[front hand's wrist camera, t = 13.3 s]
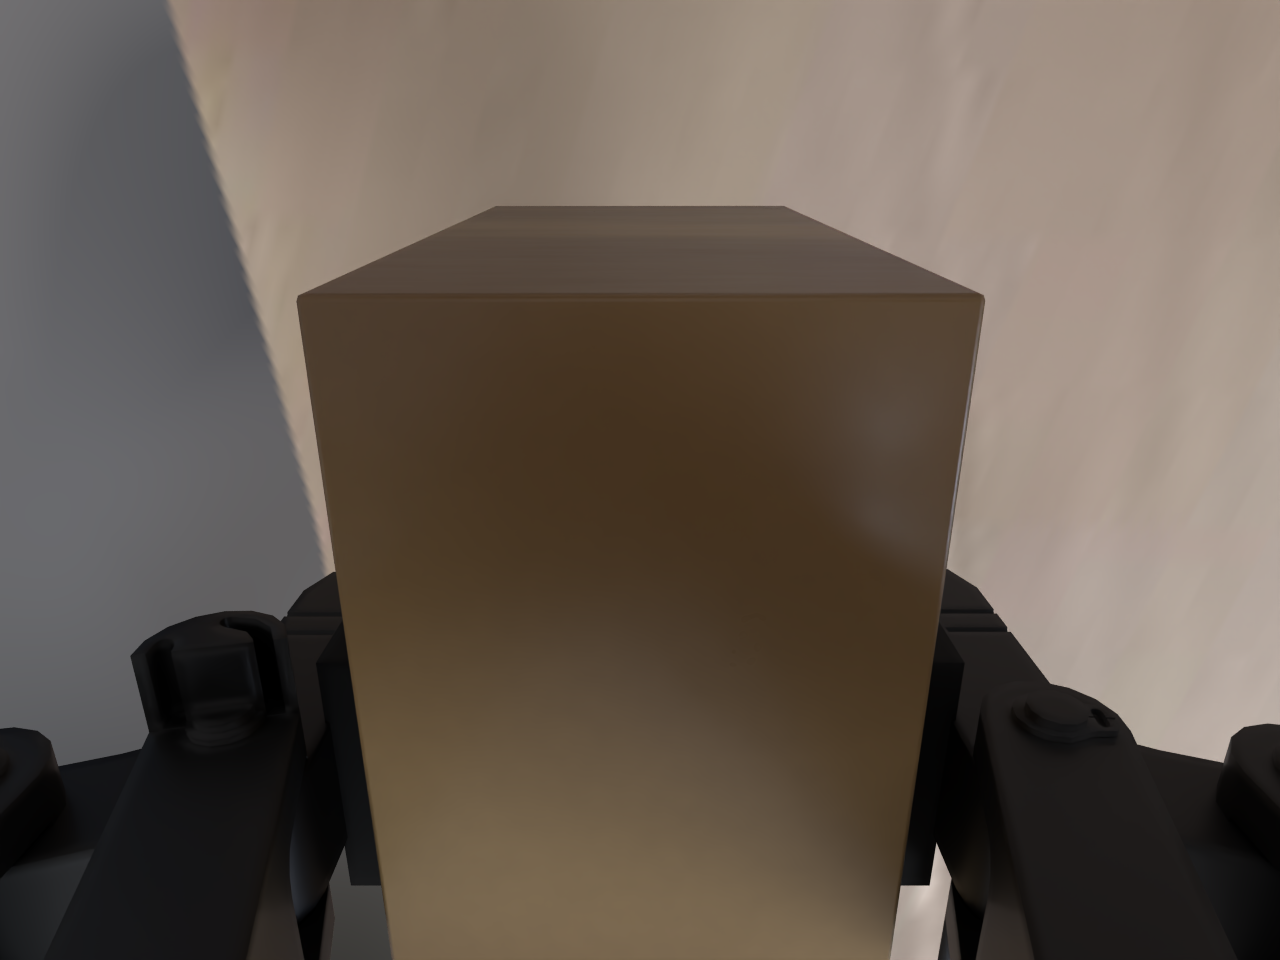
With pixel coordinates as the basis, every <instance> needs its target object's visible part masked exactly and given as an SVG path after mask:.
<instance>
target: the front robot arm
mask: <svg viewBox="0 0 1280 960" xmlns="http://www.w3.org/2000/svg"><path fill="white" fill-rule="evenodd" d="M993 610H994V609H993V608H992V607H991V605H990V604H989V603H988V601H987V600H986V599H985V597H984V596H983V595H982V594H981V592H980V591H979V590H978V588H977V587H975V586H974V585H972V584H970V583H969V582H967V581H966V580H964V579H962V578H961V577H959V576H958V575H956V574H954V573H953V572H951V571H950V570H948V569H946V575H945V582H944V589H943V596H942V603H941V610H940V616H939V623H938V630H937V637H936V644H935V651H934V658H933V665H932V672H931V679H930V686H929V693H928V699H927V706H926V713H925V720H924V727H923V734H922V741H921V748H920V755H919V762H918V769H917V776H916V782H915V789H914V796H913V803H912V810H911V817H910V824H909V831H908V838H907V845H906V852H905V859H904V865H903V872H902V879H901V885H930V879H931V873H932V867H933V860H934V854H935V848H936V842H937V845H938V847H939V850H940V852H941V854H942V857H943V859H944V861H945V864H946V866H947V868H948V871H949V873H950V875H951V878H952V879H951V885H950V891H949V897H948V902H947V908H946V914H945V920H944V926H943V932H942V938H941V944H940V949H939V955H938V960H1280V725H1276V724H1261V725H1255V726H1248V727H1244V728H1242V729H1241V730H1240V731H1239V732H1237V733H1236V734H1235V735H1233V736H1232V737H1231V740H1230V743H1229V747H1228V750H1227V753H1226V757H1225V760H1224V763H1221V762H1216V761H1211V760H1206V759H1201V758H1196V757H1191V756H1186V755H1181V754H1176V753H1171V752H1166V751H1161V750H1156V749H1153V748H1149V747H1145V746H1141V745H1137V743H1136V741H1135V739H1134V737H1133V735H1132V733H1131V731H1130V730H1129V728H1128V727H1127V726H1126V724H1125V723H1124V722H1123V721H1122V719H1121V718H1120V717H1119V715H1118V714H1116V713H1115V712H1114V711H1112V710H1111V709H1109V708H1108V707H1106V706H1105V705H1103V704H1102V703H1100V702H1099V701H1098V700H1096V699H1094V698H1092V697H1089V696H1087V695H1084V694H1082V693H1080V692H1077V691H1075V690H1073V689H1070V688H1067V687H1062V686H1058V685H1053V684H1050V683H1049V682H1048V680H1047V679H1046V678H1045V676H1044V675H1043V674H1042V672H1041V671H1040V670H1039V668H1038V667H1037V666H1036V664H1035V663H1034V662H1033V661H1032V659H1031V658H1030V657H1029V655H1028V654H1027V653H1026V651H1025V650H1024V649H1023V647H1022V646H1021V645H1020V643H1019V642H1018V641H1017V639H1016V638H1015V637H1014V636H1013V634H1012V633H1011V632H1007V626H1006V625H1005V624H1004V622H1003V621H1002V620H1001V618H1000V617H999V616H998V615H997V614H994V612H993ZM131 660H132V665H133V669H134V672H135V677H136V681H137V685H138V689H139V693H140V697H141V701H142V705H143V709H144V713H145V717H146V721H147V725H148V729H149V734H148V736H147V738H146V741H145V743H144V745H143V747H142V749H139V750H135V751H131V752H127V753H123V754H119V755H114V756H109V757H104V758H99V759H94V760H88V761H83V762H78V763H73V764H68V765H63V766H58V764H57V761H56V758H55V754H54V751H53V748H52V744H51V741H50V740H49V739H47V738H46V737H45V736H44V735H42V734H41V733H40V732H38V731H35V730H28V729H22V728H15V727H13V728H4V729H0V960H330V956H331V947H332V938H333V930H334V921H335V916H334V909H333V903H332V897H331V891H330V885H329V881H330V879H331V876H332V874H333V872H334V869H335V867H336V865H337V862H338V860H339V857H340V855H341V853H342V850H343V848H344V846H345V851H346V857H347V863H348V869H349V876H350V882H351V885H381V880H380V873H379V866H378V859H377V852H376V845H375V839H374V832H373V825H372V818H371V811H370V804H369V797H368V790H367V783H366V777H365V770H364V763H363V756H362V749H361V742H360V735H359V728H358V721H357V714H356V708H355V701H354V694H353V687H352V680H351V673H350V666H349V659H348V652H347V646H346V639H345V632H344V625H343V618H342V611H341V604H340V597H339V590H338V584H337V577H336V572H333V573H331V574H329V575H328V576H326V577H325V578H323V579H321V580H320V581H318V582H317V583H315V584H314V585H312V586H310V587H309V588H307V589H306V590H304V591H303V592H302V594H301V595H300V596H299V598H298V599H297V600H296V602H295V603H294V604H293V606H292V607H291V608H290V610H289V611H288V615H287V617H284V618H283V619H282V620H281V621H279V620H278V619H277V618H275V617H274V616H272V615H268V614H264V613H259V612H255V611H224V612H219V613H214V614H208V615H203V616H198V617H194V618H192V619H189V620H186V621H183V622H180V623H178V624H175V625H172V626H169V627H167V628H165V629H164V630H162V631H160V632H159V633H157V634H155V635H153V636H152V637H150V638H148V639H147V640H145V641H144V642H143V643H142V644H141V645H140V646H139V647H138V648H137V649H136V650H135V652H134V653H133V654H132V655H131Z"/></svg>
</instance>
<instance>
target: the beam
mask: <svg viewBox="0 0 1280 960" xmlns="http://www.w3.org/2000/svg"><path fill="white" fill-rule="evenodd" d="M984 305H985V299H984V295H982V294H980V293H977V292H975V291H973V290H971V289H969V288H966V287H964V286H962V285H960V284H957V283H955V282H953V281H951V280H948V279H946V278H944V277H942V276H939V275H937V274H935V273H933V272H930V271H928V270H926V269H924V268H922V267H919V266H917V265H915V264H913V263H910V262H908V261H906V260H904V259H901V258H899V257H897V256H895V255H892V254H890V253H888V252H886V251H883V250H881V249H879V248H877V247H875V246H872V245H870V244H868V243H866V242H863V241H861V240H859V239H857V238H854V237H852V236H850V235H848V234H845V233H843V232H841V231H839V230H836V229H834V228H832V227H830V226H828V225H825V224H823V223H821V222H819V221H816V220H814V219H812V218H810V217H807V216H805V215H803V214H801V213H798V212H796V211H794V210H792V209H789V208H787V207H785V206H495V207H493V208H491V209H489V210H487V211H484V212H482V213H480V214H478V215H476V216H473V217H471V218H469V219H467V220H464V221H462V222H460V223H458V224H456V225H453V226H451V227H449V228H447V229H445V230H442V231H440V232H438V233H436V234H433V235H431V236H429V237H427V238H425V239H422V240H420V241H418V242H416V243H414V244H411V245H409V246H407V247H405V248H403V249H400V250H398V251H396V252H394V253H391V254H389V255H387V256H385V257H383V258H380V259H378V260H376V261H374V262H372V263H369V264H367V265H365V266H363V267H361V268H358V269H356V270H354V271H352V272H349V273H347V274H345V275H343V276H341V277H338V278H336V279H334V280H332V281H330V282H327V283H325V284H323V285H321V286H319V287H316V288H314V289H312V290H310V291H307V292H305V293H303V294H301V295H299V296H298V298H297V308H298V315H299V322H300V329H301V335H302V342H303V349H304V356H305V363H306V370H307V377H308V384H309V391H310V397H311V404H312V411H313V418H314V425H315V432H316V439H317V446H318V453H319V459H320V466H321V473H322V480H323V487H324V494H325V501H326V508H327V515H328V521H329V528H330V535H331V542H332V549H333V556H334V563H335V570H336V577H337V584H338V590H339V597H340V604H341V611H342V618H343V625H344V632H345V639H346V646H347V652H348V659H349V666H350V673H351V680H352V687H353V694H354V701H355V708H356V714H357V721H358V728H359V735H360V742H361V749H362V756H363V763H364V770H365V777H366V783H367V790H368V797H369V804H370V811H371V818H372V825H373V832H374V839H375V845H376V852H377V859H378V866H379V873H380V880H381V887H382V893H383V901H384V907H385V914H386V921H387V928H388V935H389V942H390V949H391V956H392V960H890V955H891V948H892V942H893V935H894V928H895V921H896V914H897V907H898V900H899V893H900V886H901V879H902V872H903V865H904V859H905V852H906V845H907V838H908V831H909V824H910V817H911V810H912V803H913V796H914V789H915V782H916V776H917V769H918V762H919V755H920V748H921V741H922V734H923V727H924V720H925V713H926V706H927V699H928V693H929V686H930V679H931V672H932V665H933V658H934V651H935V644H936V637H937V630H938V623H939V616H940V610H941V603H942V596H943V589H944V582H945V575H946V568H947V561H948V554H949V547H950V540H951V533H952V527H953V520H954V513H955V506H956V499H957V492H958V485H959V478H960V471H961V464H962V457H963V450H964V444H965V437H966V430H967V423H968V416H969V409H970V402H971V395H972V388H973V381H974V374H975V367H976V361H977V354H978V347H979V340H980V333H981V326H982V319H983V312H984Z"/></svg>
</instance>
